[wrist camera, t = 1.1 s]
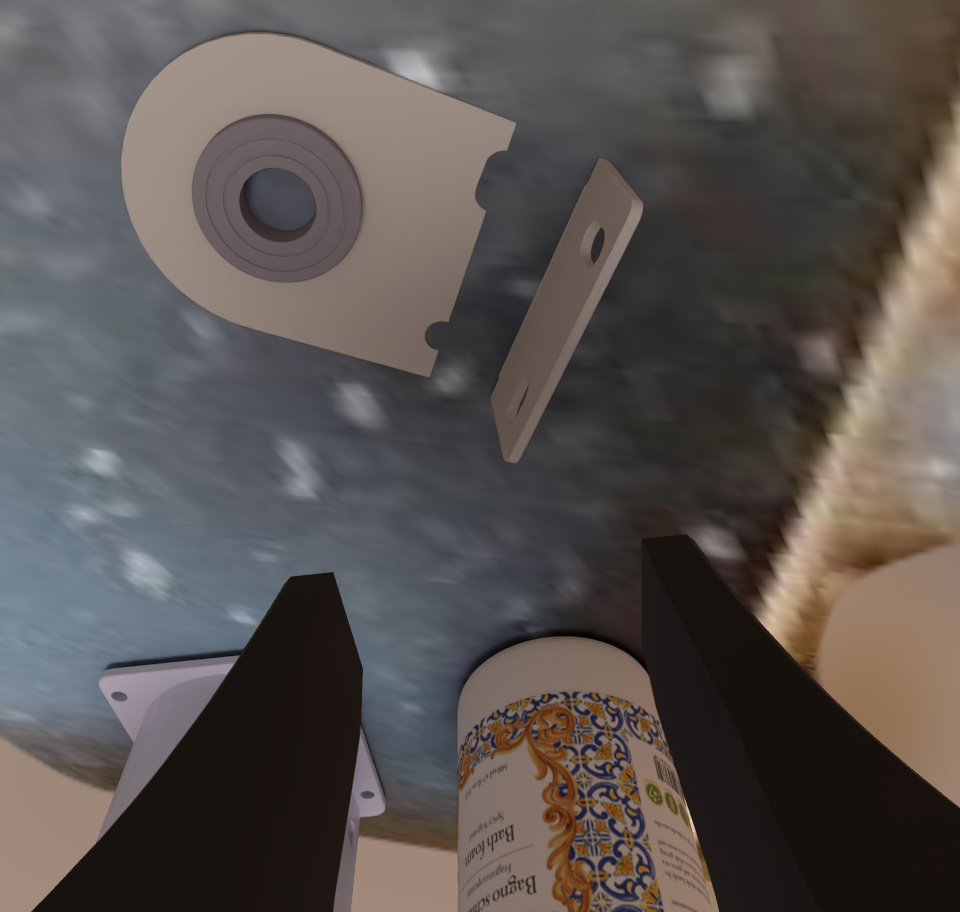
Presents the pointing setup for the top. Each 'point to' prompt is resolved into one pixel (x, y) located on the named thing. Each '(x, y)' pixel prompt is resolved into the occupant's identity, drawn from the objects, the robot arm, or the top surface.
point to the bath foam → (569, 787)
